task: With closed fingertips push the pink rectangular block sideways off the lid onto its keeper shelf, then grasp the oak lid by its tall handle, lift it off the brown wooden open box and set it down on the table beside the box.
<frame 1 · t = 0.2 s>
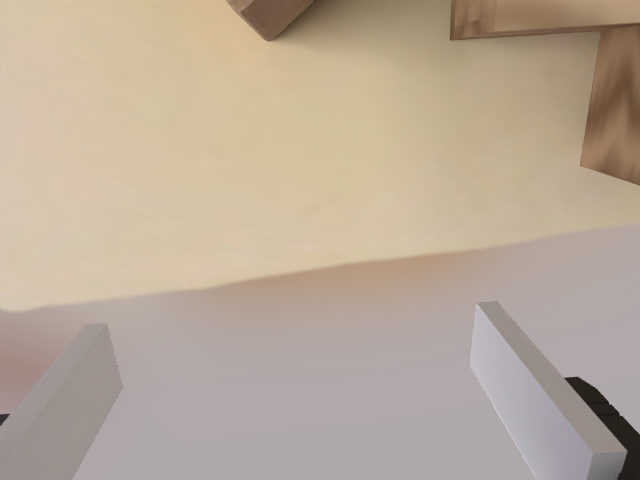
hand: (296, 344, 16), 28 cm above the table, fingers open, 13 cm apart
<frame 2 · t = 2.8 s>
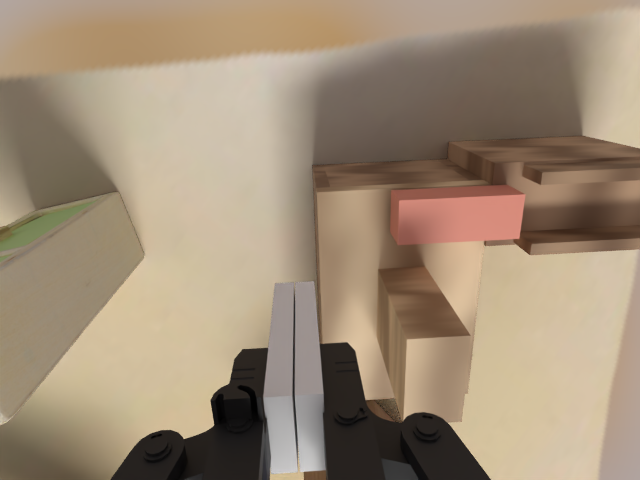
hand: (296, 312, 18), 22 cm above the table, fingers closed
brown wooden open box: (378, 255, 42), on the table
toy refrigerator: (92, 228, 39), on the table
wooden block: (362, 443, 50), on the table
pink rectangular block: (454, 214, 29), point 11 cm above the table, slide at 0.0 cm
lid: (396, 295, 34), point 8 cm above the table, touching brown wooden open box
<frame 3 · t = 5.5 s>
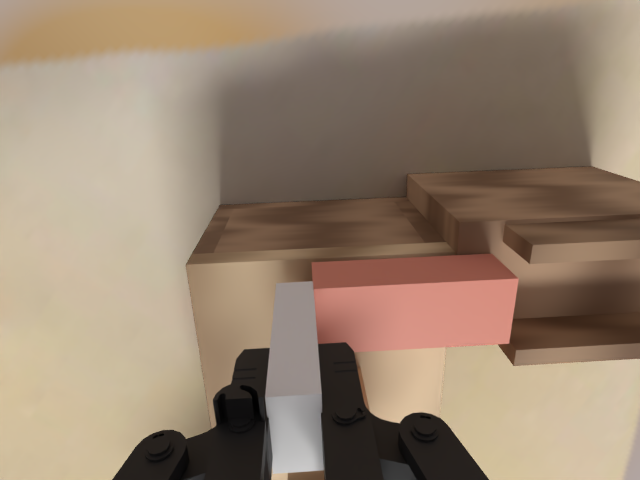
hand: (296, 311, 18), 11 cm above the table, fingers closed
brown wooden open box: (318, 321, 31), on the table
pink rectangular block: (407, 301, 18), point 11 cm above the table, slide at 0.5 cm, touching gripper
lid: (325, 400, 24), point 8 cm above the table, touching brown wooden open box
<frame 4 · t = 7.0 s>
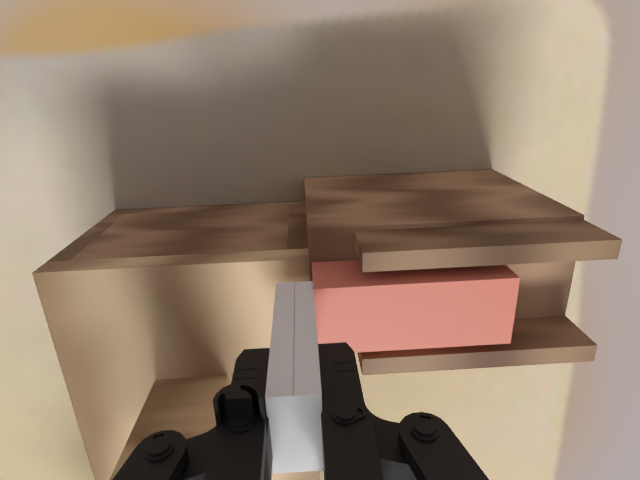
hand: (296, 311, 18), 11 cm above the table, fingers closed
brown wooden open box: (226, 327, 31), on the table
pink rectangular block: (408, 301, 18), point 11 cm above the table, slide at 7.1 cm, touching gripper
lid: (204, 408, 23), point 8 cm above the table, touching brown wooden open box
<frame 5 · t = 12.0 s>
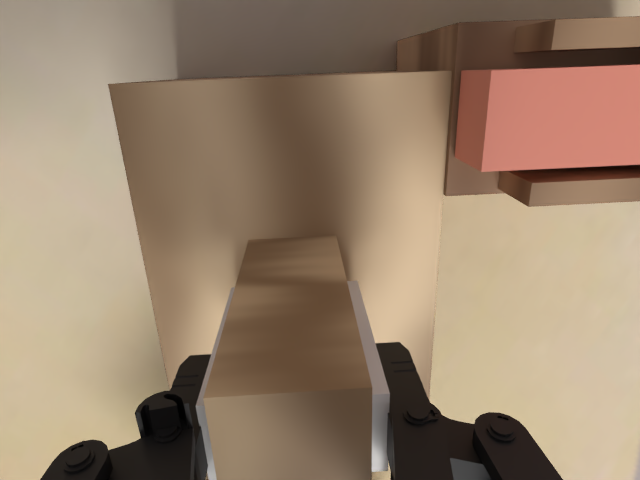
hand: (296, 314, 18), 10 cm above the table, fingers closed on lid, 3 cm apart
brown wooden open box: (296, 229, 27), on the table
pink rectangular block: (588, 114, 15), point 11 cm above the table, slide at 7.2 cm
lid: (296, 290, 20), point 8 cm above the table, touching gripper, brown wooden open box
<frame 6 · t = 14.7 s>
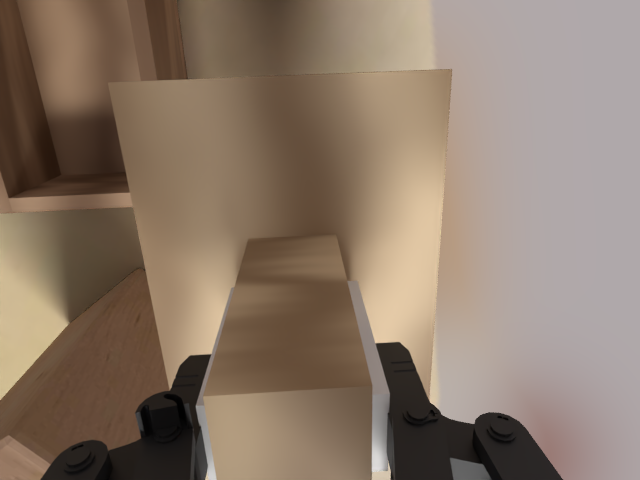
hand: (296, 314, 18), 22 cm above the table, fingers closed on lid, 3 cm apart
brown wooden open box: (107, 67, 34), on the table
wooden block: (143, 329, 42), on the table
lid: (296, 289, 20), point 20 cm above the table, touching gripper
when the fingers open (4 cm above the table, at t = 17.4 s): lid drops 2 cm, on the table.
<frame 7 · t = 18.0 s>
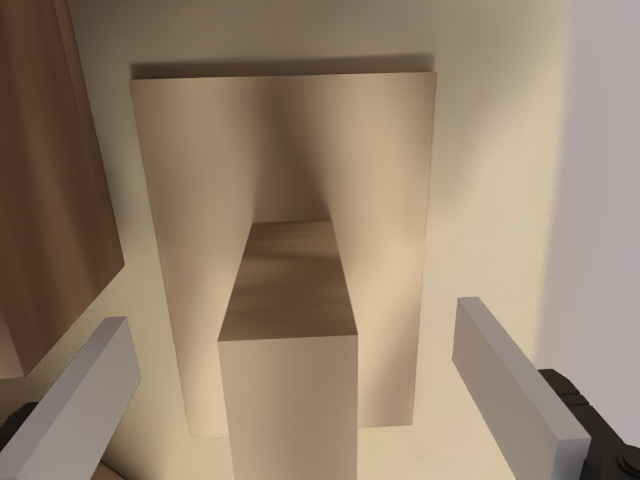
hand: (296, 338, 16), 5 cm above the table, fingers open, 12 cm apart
lid: (295, 271, 21), on the table
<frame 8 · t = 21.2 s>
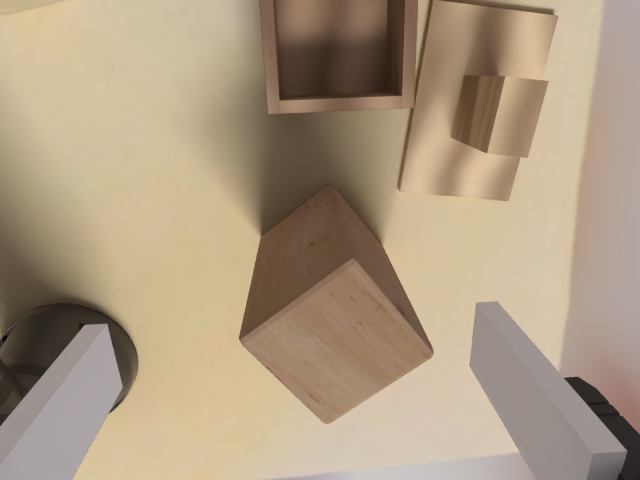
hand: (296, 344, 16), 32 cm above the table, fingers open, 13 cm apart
brown wooden open box: (331, 1, 40), on the table
wooden block: (322, 242, 49), on the table
lid: (469, 108, 44), on the table
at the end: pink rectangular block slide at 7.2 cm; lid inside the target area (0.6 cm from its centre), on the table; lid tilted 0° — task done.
